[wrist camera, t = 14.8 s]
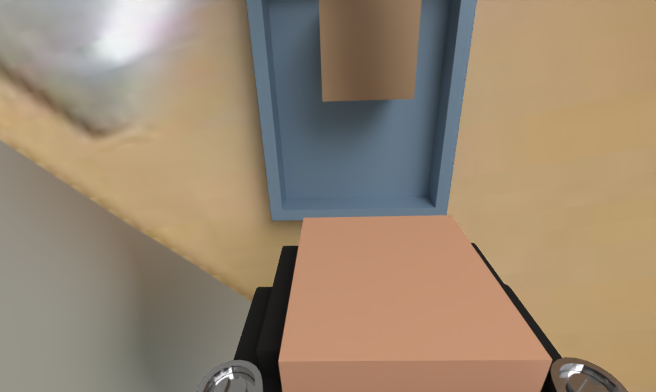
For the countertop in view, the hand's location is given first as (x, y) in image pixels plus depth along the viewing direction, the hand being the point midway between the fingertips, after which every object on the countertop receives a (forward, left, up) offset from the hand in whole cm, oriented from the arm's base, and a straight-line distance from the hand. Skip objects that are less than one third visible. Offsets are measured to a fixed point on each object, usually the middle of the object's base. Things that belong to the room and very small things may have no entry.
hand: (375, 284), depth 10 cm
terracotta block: (0, 0, 0) cm, 0 cm away
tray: (0, -4, -14) cm, 14 cm away
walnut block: (0, -7, -13) cm, 15 cm away
